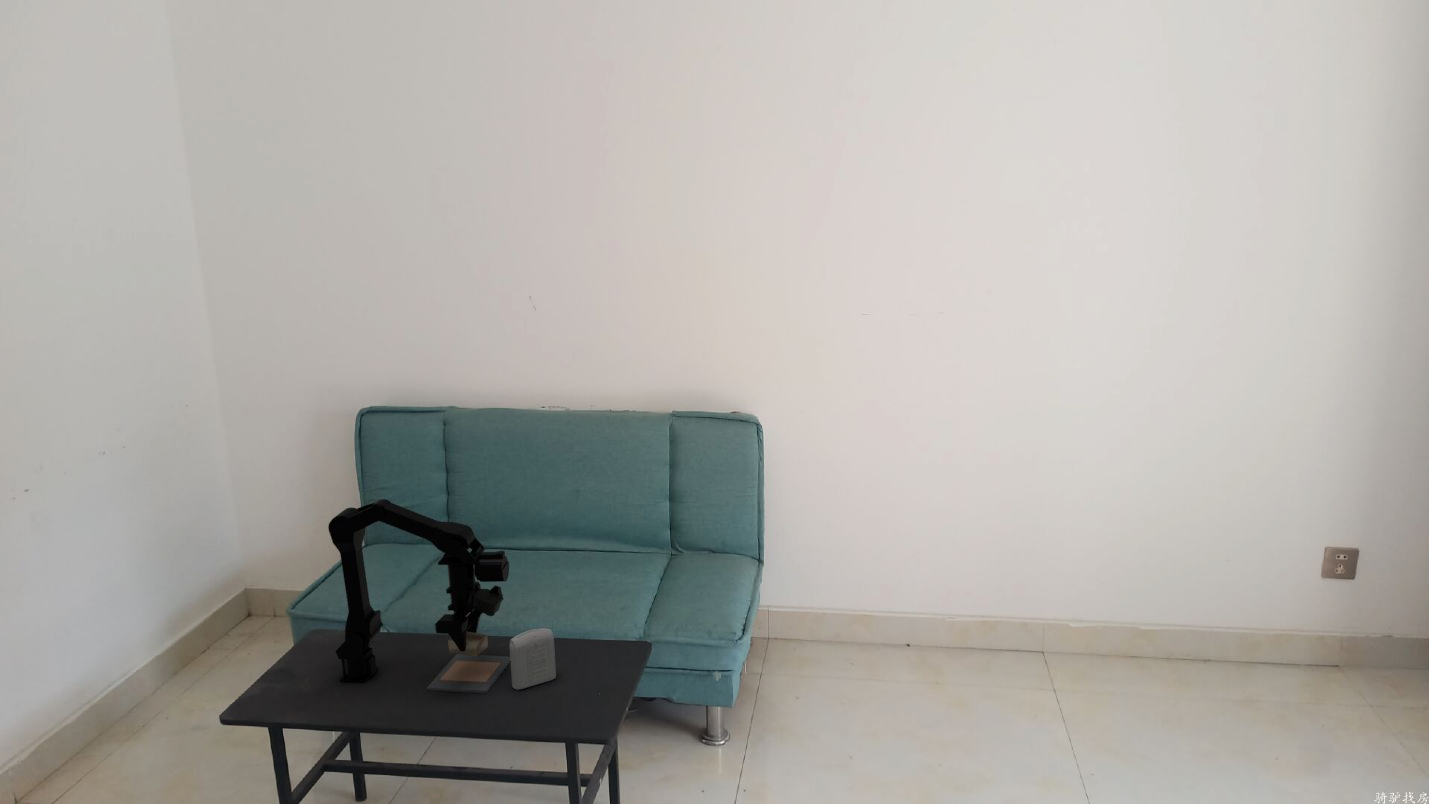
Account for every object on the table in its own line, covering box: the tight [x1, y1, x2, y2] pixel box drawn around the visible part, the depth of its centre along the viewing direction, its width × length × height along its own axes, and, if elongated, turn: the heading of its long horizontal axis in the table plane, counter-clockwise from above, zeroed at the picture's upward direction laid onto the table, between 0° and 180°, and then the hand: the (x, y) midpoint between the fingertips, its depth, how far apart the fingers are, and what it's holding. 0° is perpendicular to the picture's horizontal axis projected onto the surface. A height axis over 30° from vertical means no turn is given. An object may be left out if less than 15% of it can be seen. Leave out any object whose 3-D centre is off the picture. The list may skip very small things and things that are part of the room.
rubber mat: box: [426, 653, 511, 694], centre depth 216 cm, size 14×16×1 cm
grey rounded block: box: [508, 627, 557, 691], centre depth 210 cm, size 10×4×12 cm, turn 123°
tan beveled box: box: [447, 631, 489, 656], centre depth 214 cm, size 5×7×3 cm
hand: (467, 645), depth 214 cm, fingers closed on tan beveled box, 5 cm apart
